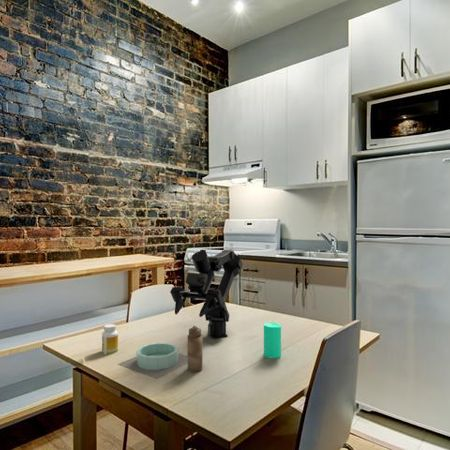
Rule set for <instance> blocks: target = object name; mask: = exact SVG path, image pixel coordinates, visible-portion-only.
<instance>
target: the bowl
mask: <svg viewBox="0 0 450 450" xmlns="http://www.w3.org/2000/svg"><path fill="white" fill-rule="evenodd" d="M178 353H179V347H178V346H177V345H175V344H173V343H169V342H155V343H154V342H153V343H147V344H145V345H142V346H140V347H139V348H138V349H137V350H136V356H137V365H138V366H139V367H141V368H143V369H146V370H160V369H165V368H169V367H171V366H173V365H175V364H176V363H177V361H178Z"/></svg>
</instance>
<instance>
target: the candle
mask: <svg viewBox="0 0 450 450" xmlns="http://www.w3.org/2000/svg"><path fill="white" fill-rule="evenodd" d="M271 321H272V322H267V323H265V324H263V356H264V357H265V358H268V359H269V358H270V359H278V358H281V356H282V325H281V324H279V323H277V322H274V320H271Z"/></svg>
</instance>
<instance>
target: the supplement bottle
mask: <svg viewBox="0 0 450 450" xmlns="http://www.w3.org/2000/svg"><path fill="white" fill-rule="evenodd" d="M116 328H117V325H116V324H112V323H110V324H109V323H108V324H105V325H104V326H103V330H104V331H103V332H102V334H101V353H102V354H103V355H113V354H114V355H115V353H118V352H119V332H118V331H117V330H116Z"/></svg>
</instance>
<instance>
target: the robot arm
mask: <svg viewBox="0 0 450 450" xmlns="http://www.w3.org/2000/svg"><path fill="white" fill-rule="evenodd" d="M191 260H192V263H193V266H194V269H195V271H196V273H195V272H193V273H191V272H189V273H187V274H186V276H185V277H186V278H185V281H184V282H185V283H186V284H187V285H188V287H187V288H188V290H189V291H186V290H184V287H181V286H180V287H179V286H172V287H171V290H170V294H171V297H172V299H173V301H174V302H175V305H174V315H176V316H177V315H178V314H179V313H180V311H181V309H183V307H184V306H185V302H186V301H187V298H188V299H193V300H198V301H199V300H201V301H204V302H203V305H202V307H201V309H200V311H199V314H198V315H199V316H198V317H199V318H202V317H203V316H204V317H205V321H206V322H207V321H208V324H207V335H208V337H211V339H218V338H219V339H220V338H225V337H228V336H229V335H228V334H227V323H228V322H230V312H229V310H228V308H227V304H226V301H227V299H228V294H229V293H230V292H229V291H230V290H231V286H232V285H233V281H234V278H235V277H237V276H238V275H239V274H240V272H241V270H242V269H243V260H242V259H241V257H240V256H239V255H237V254H236V253H235V251H234V250H232V249H230V250H229V249H224V250H222V251H220V252H218V253H216V254H215V255H212V256H208V254H207V251H206V249H200V250H199V251H197V252H195V253H193V254H192V255H191ZM222 269H223V274H222V276H221V280H220V282H219V285H218V288H217V289H211V288H210V287H211V285H212V283H215V281H216V280H215V272H216V273H218V272H221V270H222ZM197 272H198V273H197Z"/></svg>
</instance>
